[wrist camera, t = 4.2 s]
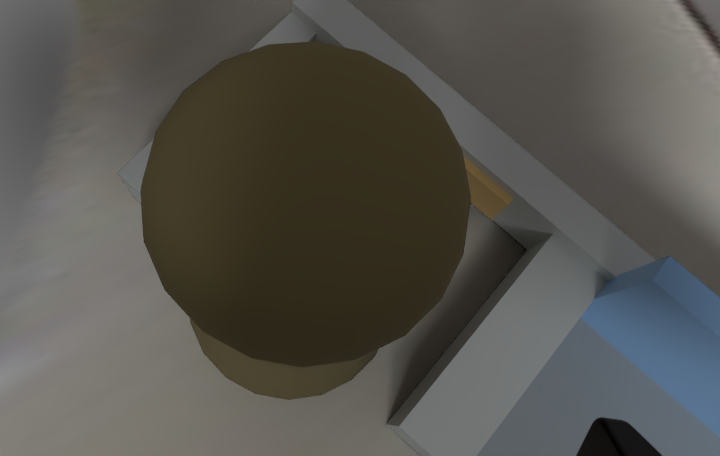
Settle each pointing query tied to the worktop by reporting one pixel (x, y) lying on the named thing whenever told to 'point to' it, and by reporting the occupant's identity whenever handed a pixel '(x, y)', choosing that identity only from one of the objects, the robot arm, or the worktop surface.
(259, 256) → the cork
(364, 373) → the worktop surface
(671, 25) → the worktop surface
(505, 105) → the worktop surface
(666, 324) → the shallow tray
